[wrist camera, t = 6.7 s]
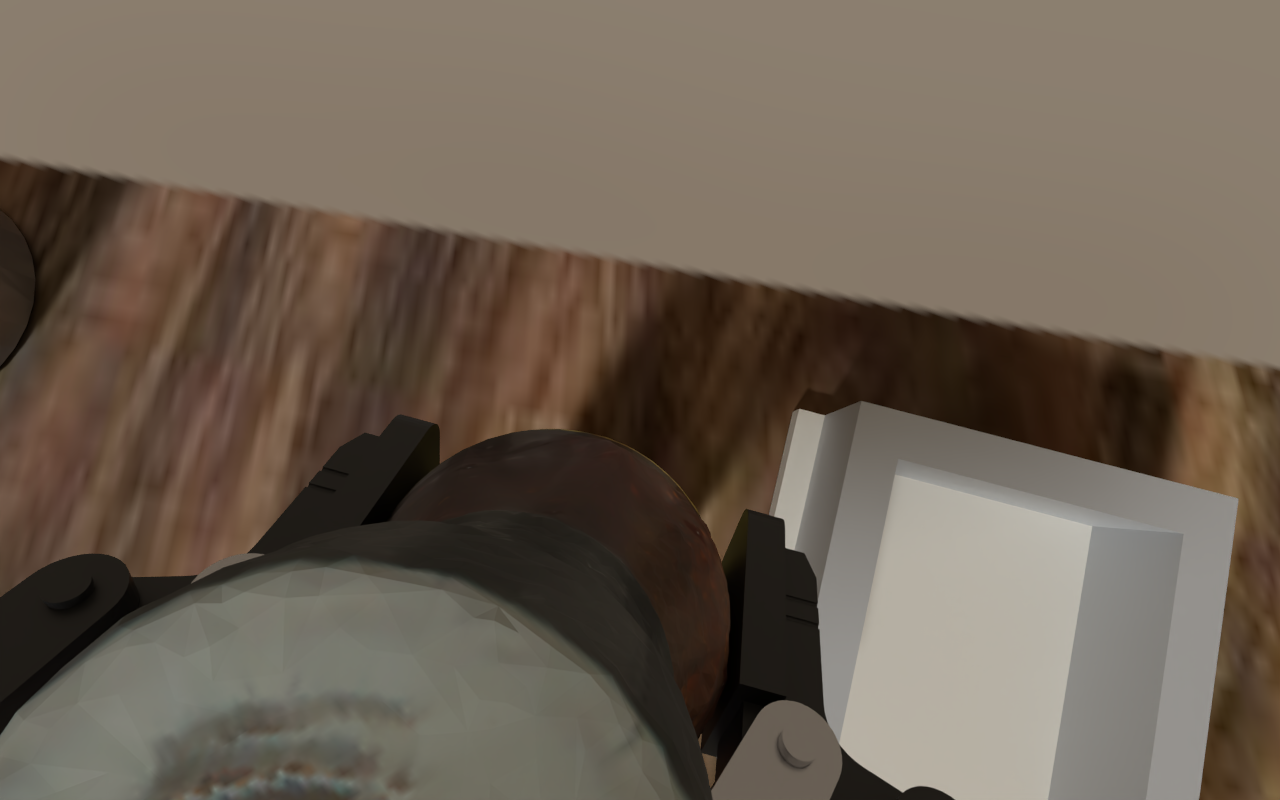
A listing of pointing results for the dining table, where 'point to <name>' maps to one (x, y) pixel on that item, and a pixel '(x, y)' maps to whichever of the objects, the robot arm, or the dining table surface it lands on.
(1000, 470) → the white open tray
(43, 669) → the robot arm
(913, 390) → the dining table surface
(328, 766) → the sauce bottle
